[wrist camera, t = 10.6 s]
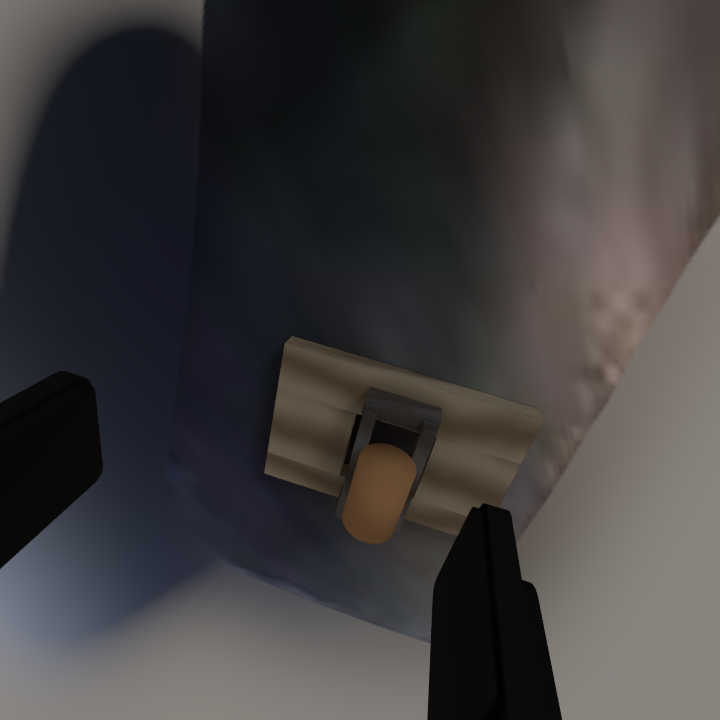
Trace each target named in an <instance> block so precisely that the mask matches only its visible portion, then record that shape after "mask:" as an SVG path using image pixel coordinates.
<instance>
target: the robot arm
mask: <svg viewBox="0 0 720 720" xmlns="http://www.w3.org/2000/svg"><path fill="white" fill-rule="evenodd" d="M101 454H102V453H101V443H100V434H99V425H98V416H97V405H96V395H95V389H94V388H93V387H92V386H91V383H90V381H89V380H88V379H87V378H85V377H82V376H79V375H75V374H72V373H69V372H66V371H59V372H57V373H54V374H53V375H51V376H49V377H47V378H45V379H43V380H42V381H40V382H38V383H36V384H34V385H32V386H31V387H29V388H27V389H25V390H23V391H21V392H19V393H18V394H16V395H14V396H12V397H10V398H8V399H7V400H5V401H3V402H1V403H0V569H1V568H2V567H3V566H4V565H5V564H6V563H7V562H8V561H9V560H10V559H11V558H13V557H14V556H15V555H16V554H17V553H18V552H19V551H20V550H21V549H23V548H24V547H25V546H26V545H27V544H28V543H29V542H30V541H31V540H33V539H34V538H35V537H36V536H37V535H38V534H39V533H40V532H41V531H42V530H44V528H46V527H47V526H48V525H49V524H50V523H51V522H52V521H53V520H54V519H56V518H57V517H58V516H59V515H60V514H61V513H62V512H63V511H64V510H65V509H67V508H68V507H69V506H70V505H71V504H72V503H73V502H74V501H75V500H76V499H78V498H79V497H80V496H81V495H82V494H83V493H84V492H85V491H86V490H88V489H89V488H90V487H91V486H92V485H93V484H94V483H95V482H96V481H97V480H98V479H99V477H100V475H101V473H102V470H103V463H102V455H101ZM428 697H429V698H428V719H427V720H562V717H561V712H560V707H559V702H558V697H557V692H556V686H555V681H554V676H553V671H552V666H551V661H550V656H549V650H548V646H547V640H546V635H545V630H544V625H543V620H542V615H541V610H540V604H539V599H538V595H537V592H536V589H535V587H534V586H533V584H532V583H529V582H527V581H524V580H522V578H521V572H520V566H519V560H518V554H517V548H516V541H515V535H514V529H513V523H512V517H511V514H510V512H509V511H508V510H505V509H502V508H499V507H495V506H492V505H489V504H486V503H483V504H482V505H481V506H480V508H477V507H472V508H471V510H470V512H469V514H468V516H467V518H466V520H465V522H464V524H463V526H462V528H461V530H460V532H459V534H458V536H457V538H456V540H455V542H454V544H453V546H452V548H451V550H450V552H449V554H448V556H447V558H446V560H445V562H444V564H443V566H442V568H441V570H440V572H439V574H438V576H437V578H436V581H435V585H434V590H433V605H432V627H431V650H430V673H429V696H428Z"/></svg>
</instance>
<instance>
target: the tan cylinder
mask: <svg viewBox="0 0 720 720" xmlns="http://www.w3.org/2000/svg"><path fill="white" fill-rule="evenodd" d="M416 472H417V469H416V465H415V463H414V461H413V459H412V458H411V457H410V456H409V455H408V454H407V453H406V452H404V451H403V450H401V449H399V448H397V447H395V446H392V445H389V444H383V443H376V444H371V445H368V446H366V447H364V448H363V449H362V450H361V452H360V454H359V458H358V461H357V465H356V468H355V472H354V475H353V479H352V482H351V486H350V489H349V493H348V496H347V499H346V503H345V506H344V510H343V514H342V520H343V524H344V526H345V528H346V530H347V531H348V532H349V533H350V534H351V535H352V536H353V537H355V538H356V539H358V540H360V541H362V542H365V543H370V544H379V543H383V542H385V541H387V540H388V539H390V538H391V537H392V535H393V533H394V531H395V528H396V526H397V523H398V520H399V518H400V515H401V513H402V510H403V507H404V505H405V502H406V499H407V497H408V494H409V491H410V489H411V486H412V484H413V481H414V478H415V476H416Z"/></svg>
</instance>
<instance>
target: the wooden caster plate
mask: <svg viewBox="0 0 720 720" xmlns="http://www.w3.org/2000/svg"><path fill="white" fill-rule="evenodd" d="M357 414H359V415H362V419H361V423H360V426H359V430H358V433H357V437H356V441H355V444H354V448H353V452H352V455H351V459H350V462H349V465H348V464H345V463H344V461H345V457H346V453H347V450H348V446H349V442H350V439H351V435H352V431H353V427H354V424H355V420H356V416H357ZM376 420H379V421H382V422H385V423H389V424H392V425H395V426H398V427H402V428H405V429H408V430H411V431H415V432H418V433H420V434H419V436H418V439H417V442H416V445H415V447H414V450H413V453H412V456H411V458H412V459H413V461H414V463H415V465H416V469H417V472H416V476H415V478H414V481H413V484H412V486H411V489H410V491H409V494H408V497H407V499H406V502H405V505H404V507H403V510H402V513H401V515H400V518H399V520H398V523H397V526H396V528H395V531H394V533H393V535H392V536H394V537H397V536H398V533H399V530H400V528H401V525H402V523H403V520H404V519H406V520H409V521H412V522H415V523H418V524H422V525H425V526H428V527H431V528H434V529H437V530H440V531H443V532H446V533H449V534H452V535H455V536H458V534H459V532H460V530H461V528H462V526H463V524H464V522H465V520H466V518H467V516H468V514H469V512H470V510H471V508H472V507H477V508H480V506H481V505H482V504H483V503H486V504H489V505H492V506H495V507H499V505H500V503H501V501H502V499H503V497H504V495H505V493H506V491H507V489H508V488H509V486H510V484H511V482H512V480H513V478H514V476H515V474H516V472H517V470H518V468H519V467H520V465H521V463H522V461H523V459H524V457H525V455H526V453H527V451H528V449H529V448H530V446H531V444H532V442H533V440H534V438H535V436H536V434H537V432H538V430H539V428H540V427H541V425H542V423H543V419H542V416H541V413H540V411H539V409H537V408H533V407H530V406H527V405H523V404H520V403H516V402H513V401H510V400H506V399H503V398H500V397H496V396H493V395H489V394H486V393H483V392H479V391H476V390H473V389H469V388H466V387H462V386H459V385H456V384H452V383H449V382H446V381H442V380H439V379H435V378H432V377H429V376H425V375H422V374H419V373H415V372H412V371H408V370H405V369H402V368H398V367H395V366H392V365H388V364H385V363H381V362H378V361H375V360H371V359H368V358H365V357H361V356H358V355H354V354H351V353H348V352H344V351H341V350H338V349H334V348H331V347H327V346H324V345H321V344H317V343H314V342H311V341H307V340H304V339H300V338H297V337H294V336H292V337H291V338H290V339H289V340H288V341H287V342H286V343H285V345H284V351H283V357H282V364H281V370H280V377H279V383H278V389H277V396H276V402H275V408H274V415H273V421H272V428H271V434H270V440H269V447H268V453H267V459H266V466H265V472H264V473H265V474H268V475H271V476H274V477H277V478H280V479H284V480H287V481H290V482H293V483H296V484H299V485H302V486H305V487H308V488H311V489H314V490H317V491H320V492H323V493H326V494H330V495H333V496H336V497H338V500H337V504H336V507H335V510H336V513H335V517H336V518H339V519H342V514H343V510H344V506H345V503H346V499H347V496H348V493H349V489H350V486H351V482H352V479H353V475H354V472H355V468H356V465H357V461H358V458H359V454H360V452H361V450H362V449H363V448H364V447H366V446H368V445H369V442H370V438H371V435H372V431H373V428H374V425H375V421H376Z"/></svg>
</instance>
